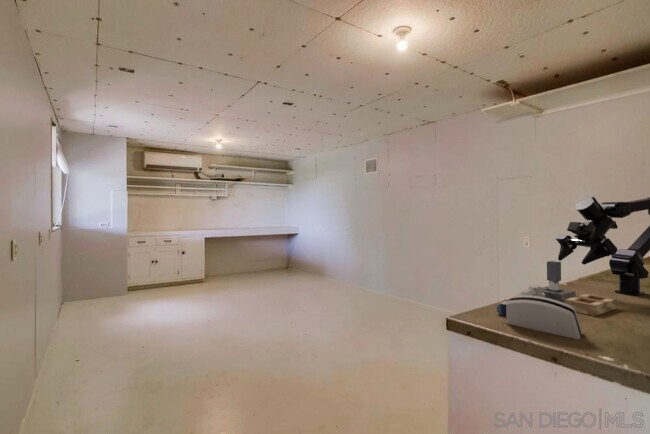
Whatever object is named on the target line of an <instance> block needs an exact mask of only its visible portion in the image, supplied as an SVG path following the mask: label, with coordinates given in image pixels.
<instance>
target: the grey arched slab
mask: <svg viewBox="0 0 650 434" xmlns="http://www.w3.org/2000/svg"><path fill="white" fill-rule="evenodd" d="M513 296H514V297H513ZM513 296H511V297H509V298H510V299H509V298H508V299H509V301H508V302H507V305H506V316H505V317H506V318H505V319H506V324H508V325H511V326H516V327H520V328H525V329H529V330H533V331H539V332H543V333H548V334H551V335H556V336H561V337H565V338H570V339H573V340H574V339H575V340H580V339H581V335H583V330H582V327H581V323H580V320H579V318H578V317H579V316H578V314H577V313H578V312H576V310H575V308H574V307H572V306H570V305H568V304H565V303H563V302H560V301H557V300H553V299H549V298H545V297H539V296H515V295H513Z"/></svg>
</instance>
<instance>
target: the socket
mask: <svg viewBox="0 0 650 434" xmlns="http://www.w3.org/2000/svg"><path fill="white" fill-rule="evenodd" d="M541 290H542V293H544V294H545V298H549V299H553V300H557V301H560V302H563V303H564V300H565V299H569V298H572V297H576V296H577V294H576V291H575V290H572V289H571V290H570V289H566V288H560V287H559V292H552V291H549V285H548V286H541Z"/></svg>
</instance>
